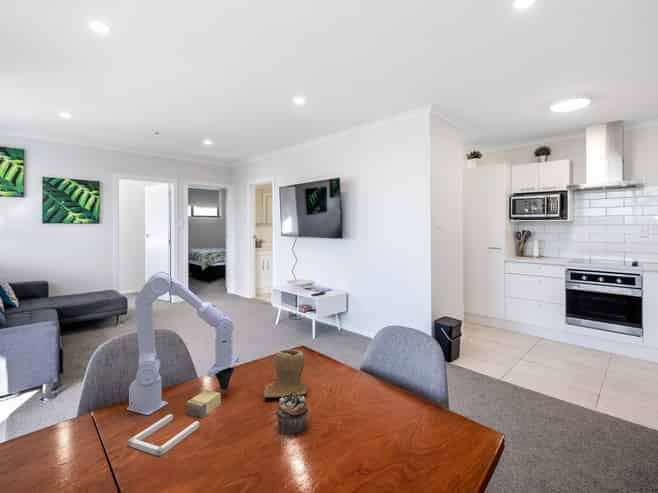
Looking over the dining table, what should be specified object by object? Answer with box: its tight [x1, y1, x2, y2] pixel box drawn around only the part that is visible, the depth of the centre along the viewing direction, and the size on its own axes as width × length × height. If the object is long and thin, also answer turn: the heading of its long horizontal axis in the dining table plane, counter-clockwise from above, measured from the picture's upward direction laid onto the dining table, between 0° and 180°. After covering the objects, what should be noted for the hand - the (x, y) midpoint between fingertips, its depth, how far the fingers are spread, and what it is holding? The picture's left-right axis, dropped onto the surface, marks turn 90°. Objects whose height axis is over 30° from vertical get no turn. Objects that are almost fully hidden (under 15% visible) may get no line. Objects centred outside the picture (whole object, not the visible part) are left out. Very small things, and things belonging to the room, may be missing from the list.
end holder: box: [127, 413, 200, 457], centre depth 97 cm, size 11×14×2 cm
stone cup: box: [263, 349, 308, 399], centre depth 123 cm, size 15×12×15 cm
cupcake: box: [275, 392, 309, 436], centre depth 102 cm, size 10×10×10 cm
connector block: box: [185, 389, 222, 419], centre depth 111 cm, size 6×9×4 cm
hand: (224, 388), depth 121 cm, fingers closed
